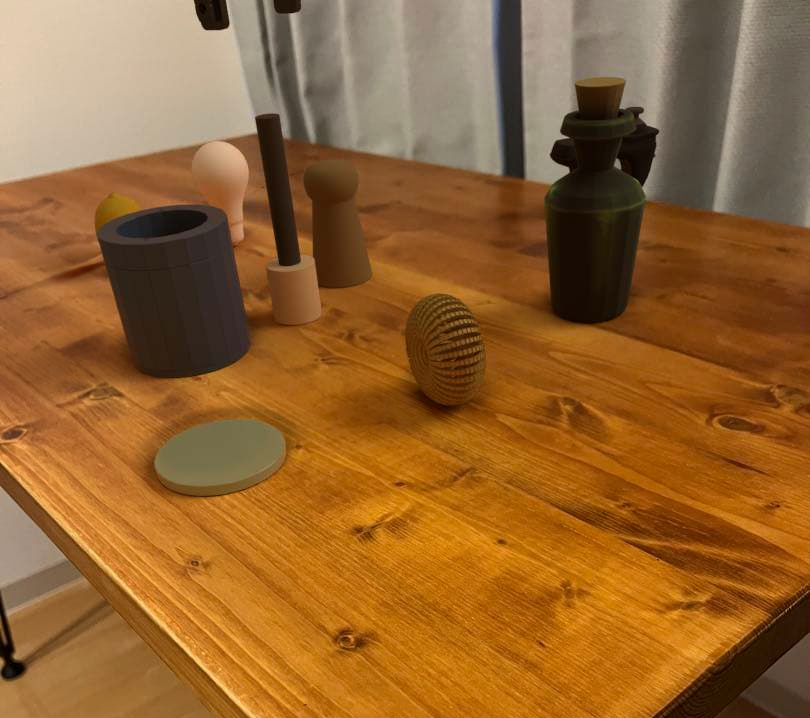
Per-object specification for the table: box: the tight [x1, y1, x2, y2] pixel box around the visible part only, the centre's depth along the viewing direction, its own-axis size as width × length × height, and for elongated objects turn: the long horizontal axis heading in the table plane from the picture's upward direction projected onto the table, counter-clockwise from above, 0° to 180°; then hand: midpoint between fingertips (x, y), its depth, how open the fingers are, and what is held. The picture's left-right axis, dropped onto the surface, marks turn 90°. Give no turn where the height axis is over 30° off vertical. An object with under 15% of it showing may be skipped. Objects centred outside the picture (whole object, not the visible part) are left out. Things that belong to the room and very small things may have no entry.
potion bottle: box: [543, 76, 647, 323], centre depth 72 cm, size 8×8×18 cm
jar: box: [96, 203, 252, 378], centre depth 73 cm, size 10×10×11 cm
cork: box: [303, 158, 373, 289], centre depth 85 cm, size 6×6×11 cm
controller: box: [549, 106, 660, 188], centre depth 97 cm, size 4×12×10 cm, turn 110°
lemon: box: [94, 191, 142, 243], centre depth 93 cm, size 6×6×8 cm
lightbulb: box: [190, 140, 250, 247], centre depth 96 cm, size 6×6×11 cm
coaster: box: [153, 418, 288, 497], centre depth 60 cm, size 9×9×1 cm
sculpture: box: [404, 292, 487, 407], centre depth 63 cm, size 8×4×8 cm, turn 24°
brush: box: [254, 112, 323, 326], centre depth 76 cm, size 4×4×17 cm
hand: (253, 21), depth 67 cm, fingers open, 8 cm apart
